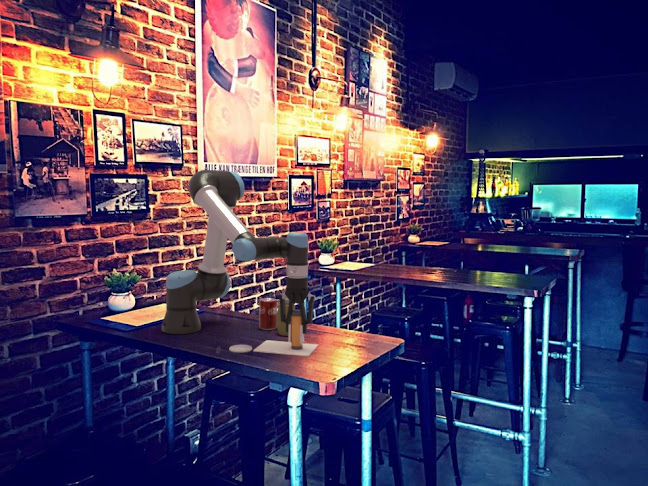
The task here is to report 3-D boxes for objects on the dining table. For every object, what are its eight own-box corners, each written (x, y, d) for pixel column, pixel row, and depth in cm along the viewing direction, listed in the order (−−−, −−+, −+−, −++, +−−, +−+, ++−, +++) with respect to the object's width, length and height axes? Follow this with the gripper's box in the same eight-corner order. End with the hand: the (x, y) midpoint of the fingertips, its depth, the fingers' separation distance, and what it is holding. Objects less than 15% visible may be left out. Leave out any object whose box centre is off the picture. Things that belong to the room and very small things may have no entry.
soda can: (278, 326, 224) (278, 298, 223) (275, 330, 216) (275, 301, 215) (261, 325, 224) (261, 297, 223) (257, 330, 217) (257, 300, 216)
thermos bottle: (289, 349, 189) (289, 311, 188) (292, 346, 193) (293, 309, 192) (301, 350, 188) (301, 312, 187) (304, 347, 192) (304, 309, 191)
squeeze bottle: (300, 333, 213) (300, 288, 212) (290, 338, 206) (291, 291, 204) (282, 330, 217) (282, 286, 215) (272, 335, 209) (272, 289, 208)
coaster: (225, 351, 186) (225, 349, 186) (234, 345, 194) (234, 343, 194) (247, 353, 184) (247, 351, 184) (255, 347, 192) (255, 345, 192)
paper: (253, 351, 187) (253, 350, 187) (266, 341, 200) (266, 340, 200) (308, 356, 182) (308, 355, 182) (318, 345, 196) (318, 344, 196)
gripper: (271, 277, 187) (270, 343, 189) (317, 279, 183) (316, 346, 185) (277, 274, 194) (277, 337, 196) (322, 276, 190) (321, 341, 192)
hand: (296, 341), depth 190 cm, fingers closed on thermos bottle, 4 cm apart
